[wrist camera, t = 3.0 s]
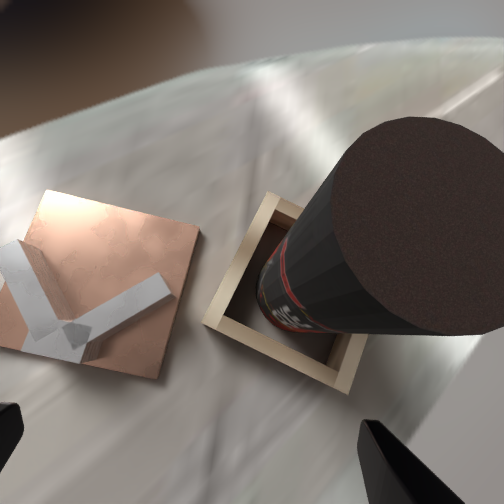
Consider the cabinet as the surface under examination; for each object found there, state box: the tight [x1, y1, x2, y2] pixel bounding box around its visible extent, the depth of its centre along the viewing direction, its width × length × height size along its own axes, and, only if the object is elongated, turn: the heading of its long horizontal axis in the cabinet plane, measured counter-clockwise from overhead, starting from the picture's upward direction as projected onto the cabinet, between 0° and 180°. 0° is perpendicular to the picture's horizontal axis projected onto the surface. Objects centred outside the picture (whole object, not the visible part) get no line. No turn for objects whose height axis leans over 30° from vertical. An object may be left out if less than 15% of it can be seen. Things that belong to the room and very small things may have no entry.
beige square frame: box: [201, 191, 369, 395], centre depth 21 cm, size 10×10×2 cm
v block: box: [0, 190, 200, 379], centre depth 19 cm, size 10×11×3 cm
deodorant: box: [256, 117, 504, 336], centre depth 15 cm, size 6×6×15 cm
